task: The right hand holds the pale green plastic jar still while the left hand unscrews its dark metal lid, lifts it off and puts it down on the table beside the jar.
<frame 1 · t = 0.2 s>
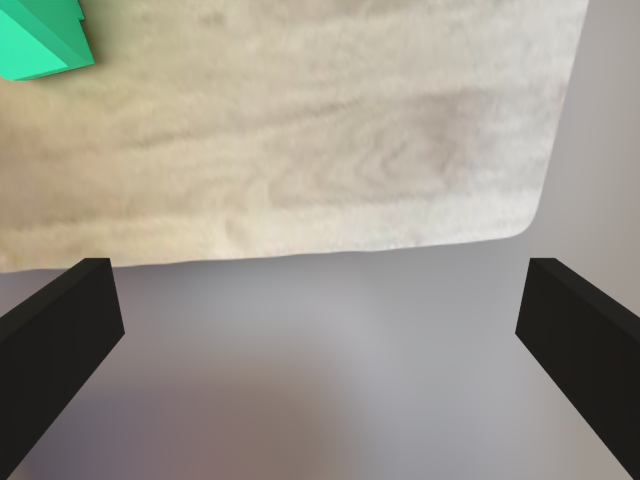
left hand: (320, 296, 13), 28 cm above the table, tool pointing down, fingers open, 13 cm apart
camera mount: (33, 0, 34), on the table
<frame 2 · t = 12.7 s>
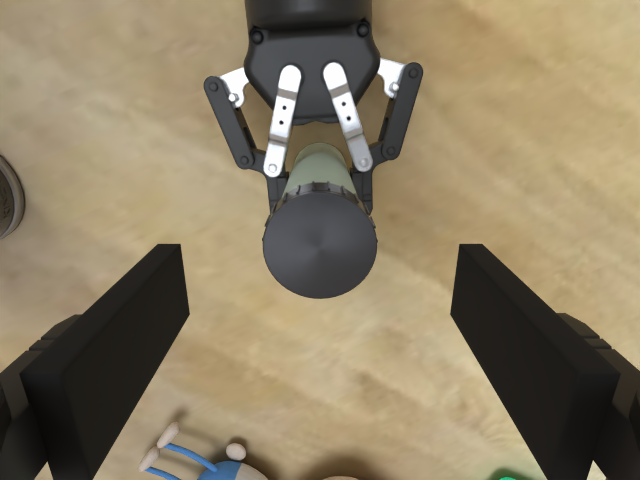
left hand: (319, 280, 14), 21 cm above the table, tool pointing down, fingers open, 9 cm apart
right hand: (321, 222, 29), fingers closed on jar, 4 cm apart
lid: (319, 245, 17), point 18 cm above the table, screwed on, not yet turned
toy: (279, 479, 46), on the table
jar: (319, 168, 34), on the table, touching right hand
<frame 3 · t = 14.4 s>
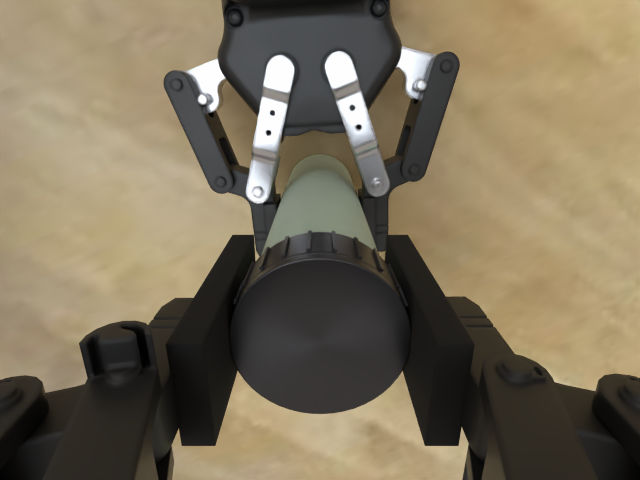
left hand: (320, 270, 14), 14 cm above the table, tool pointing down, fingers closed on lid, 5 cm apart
right hand: (322, 258, 22), fingers closed on jar, 4 cm apart
lid: (320, 334, 11), point 18 cm above the table, screwed on, not yet turned, touching left hand
jar: (320, 186, 27), on the table, touching right hand
when the left hand's fingers open (14 cm above the table, at t = 15.7 s): lid stays where it is, point 18 cm above the table.
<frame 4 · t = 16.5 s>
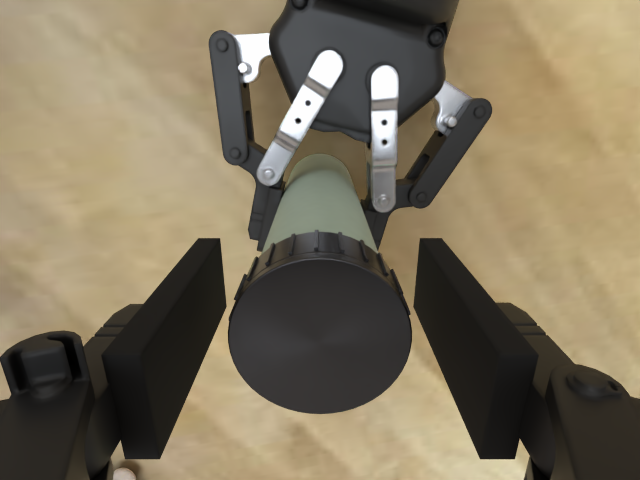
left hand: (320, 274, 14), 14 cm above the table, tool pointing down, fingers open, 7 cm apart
right hand: (308, 255, 22), fingers closed on jar, 4 cm apart
lid: (319, 334, 11), point 18 cm above the table, turned 106° so far, risen 0.2 cm, still on its thread
jar: (319, 185, 28), on the table, touching right hand
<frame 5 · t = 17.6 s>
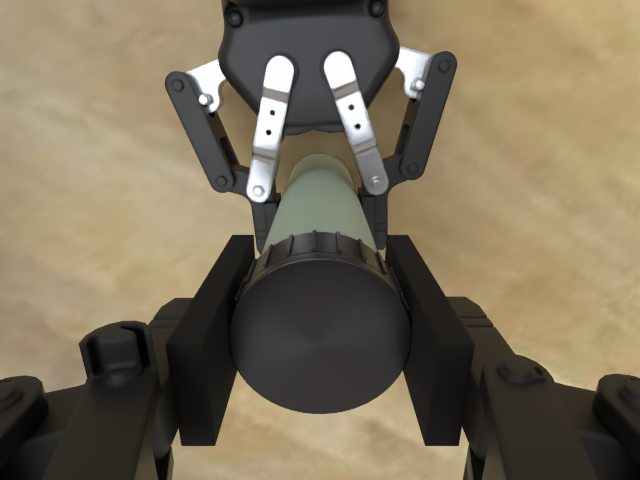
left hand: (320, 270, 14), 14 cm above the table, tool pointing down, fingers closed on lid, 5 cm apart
right hand: (322, 256, 23), fingers closed on jar, 4 cm apart
lid: (320, 334, 11), point 18 cm above the table, turned 106° so far, risen 0.2 cm, still on its thread, touching left hand
jar: (320, 185, 28), on the table, touching right hand
when the left hand's fingers open (0 cm above the table, at t = 24.3 s): lid drops 3 cm, point 2 cm above the table.
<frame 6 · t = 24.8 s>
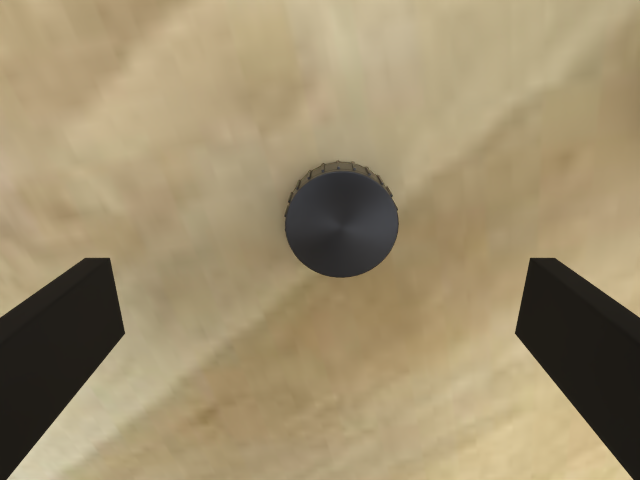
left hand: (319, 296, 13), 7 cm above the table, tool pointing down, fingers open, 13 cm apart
lid: (341, 224, 17), point 2 cm above the table, off its thread
when the right hand's fingers open (7 cm above the table, at t = 24.9 s): jar stays where it is, on the table.
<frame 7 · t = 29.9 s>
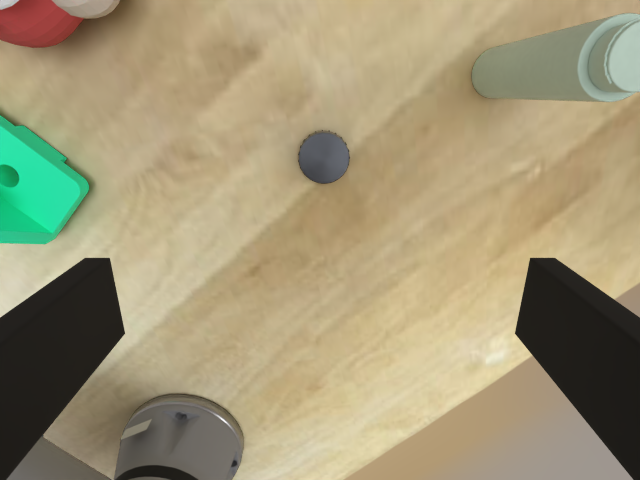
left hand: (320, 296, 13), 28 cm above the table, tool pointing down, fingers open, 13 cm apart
camera mount: (27, 170, 40), on the table
lid: (324, 158, 38), point 2 cm above the table, off its thread
jar: (495, 73, 37), on the table
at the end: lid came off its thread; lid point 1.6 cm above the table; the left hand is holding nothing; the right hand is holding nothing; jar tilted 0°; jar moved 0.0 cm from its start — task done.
